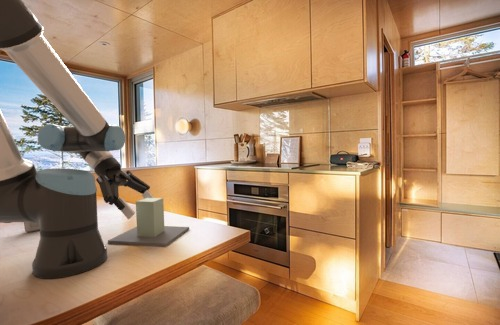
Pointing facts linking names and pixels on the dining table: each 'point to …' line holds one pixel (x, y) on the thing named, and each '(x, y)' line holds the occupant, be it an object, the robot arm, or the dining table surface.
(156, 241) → the mat
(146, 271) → the dining table surface
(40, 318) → the dining table surface
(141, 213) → the sage block
